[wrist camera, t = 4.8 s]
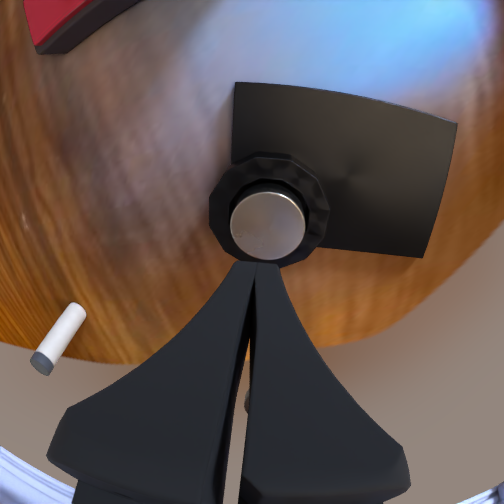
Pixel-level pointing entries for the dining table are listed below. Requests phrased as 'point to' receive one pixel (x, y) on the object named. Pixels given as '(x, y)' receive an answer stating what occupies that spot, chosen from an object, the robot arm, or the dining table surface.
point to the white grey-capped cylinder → (58, 339)
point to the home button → (268, 221)
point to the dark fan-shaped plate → (337, 168)
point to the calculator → (68, 21)
